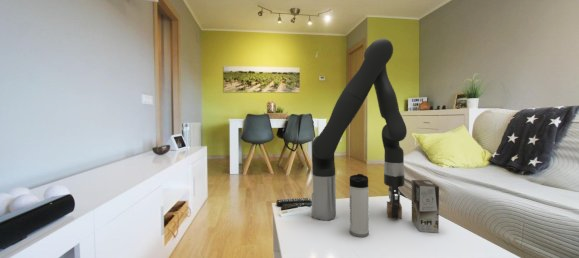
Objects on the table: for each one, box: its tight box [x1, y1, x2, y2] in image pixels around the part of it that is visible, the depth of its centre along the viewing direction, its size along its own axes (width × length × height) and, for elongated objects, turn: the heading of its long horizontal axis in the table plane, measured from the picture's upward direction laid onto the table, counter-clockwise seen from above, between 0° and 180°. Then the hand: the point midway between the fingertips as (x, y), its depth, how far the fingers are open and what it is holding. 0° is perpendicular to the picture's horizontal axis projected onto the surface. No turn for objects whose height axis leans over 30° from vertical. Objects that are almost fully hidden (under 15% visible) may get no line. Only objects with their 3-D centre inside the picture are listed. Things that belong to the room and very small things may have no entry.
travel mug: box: [349, 173, 370, 238], centre depth 81 cm, size 6×7×20 cm
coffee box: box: [411, 179, 440, 233], centre depth 85 cm, size 9×6×16 cm
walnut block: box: [386, 200, 403, 220], centre depth 95 cm, size 5×5×5 cm
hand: (394, 214), depth 95 cm, fingers closed on walnut block, 5 cm apart
